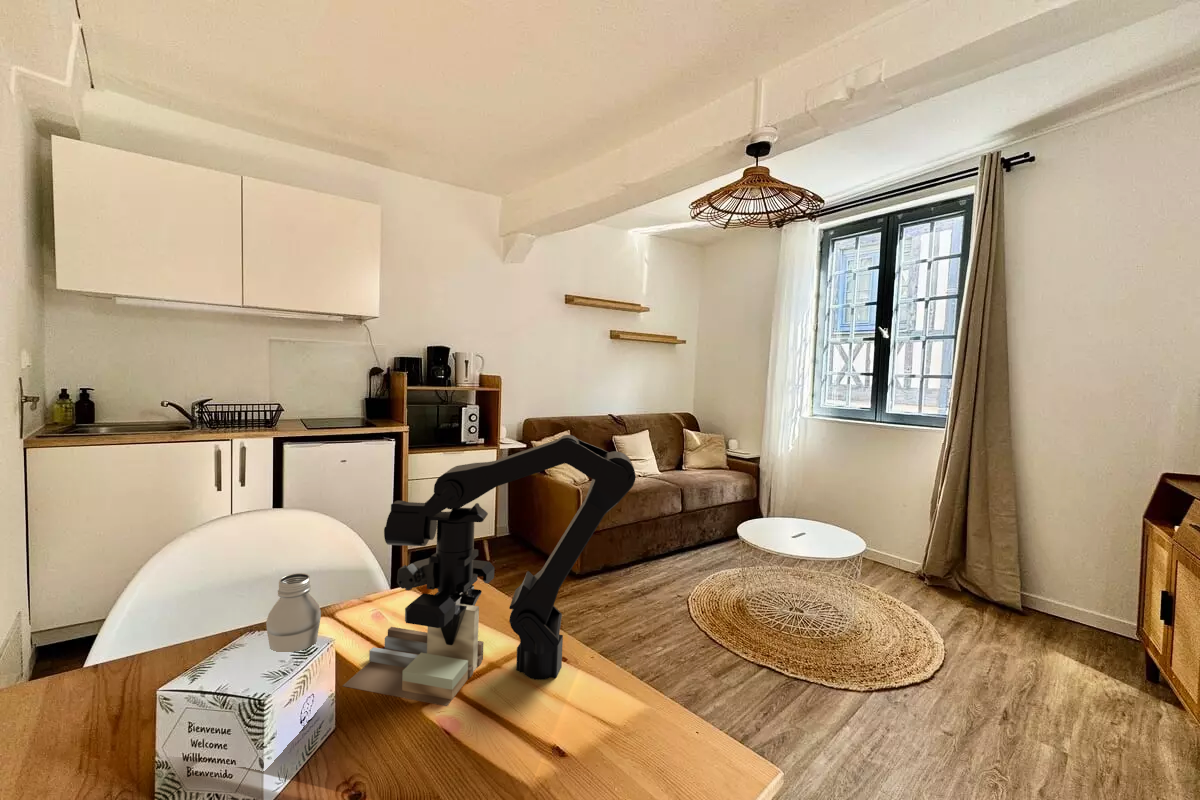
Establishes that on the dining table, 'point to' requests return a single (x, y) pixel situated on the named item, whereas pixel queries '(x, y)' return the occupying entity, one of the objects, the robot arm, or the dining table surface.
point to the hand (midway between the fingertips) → (452, 641)
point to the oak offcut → (434, 688)
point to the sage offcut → (435, 670)
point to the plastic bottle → (293, 616)
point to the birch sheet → (458, 639)
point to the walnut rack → (398, 666)
